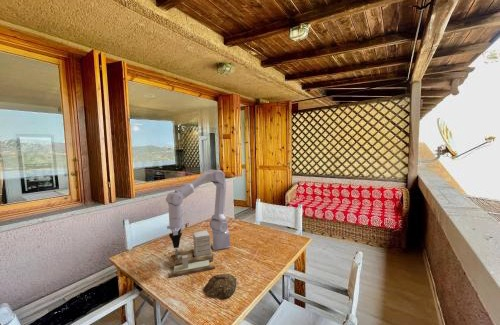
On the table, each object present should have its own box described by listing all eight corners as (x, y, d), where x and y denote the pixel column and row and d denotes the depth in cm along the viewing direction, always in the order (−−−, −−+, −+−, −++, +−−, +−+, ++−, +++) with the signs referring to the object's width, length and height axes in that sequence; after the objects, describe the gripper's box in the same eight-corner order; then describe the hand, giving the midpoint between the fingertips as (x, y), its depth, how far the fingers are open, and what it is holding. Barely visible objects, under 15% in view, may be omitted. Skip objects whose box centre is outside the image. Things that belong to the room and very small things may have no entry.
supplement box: (193, 255, 114) (192, 232, 113) (207, 252, 117) (206, 229, 116) (196, 262, 107) (195, 237, 107) (211, 258, 110) (210, 234, 110)
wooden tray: (210, 250, 119) (210, 242, 118) (213, 259, 109) (213, 249, 109) (175, 256, 113) (175, 247, 113) (175, 266, 104) (175, 256, 103)
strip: (208, 262, 107) (208, 250, 106) (210, 267, 102) (209, 254, 101) (174, 268, 102) (173, 255, 101) (174, 274, 97) (173, 261, 97)
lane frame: (209, 250, 120) (209, 248, 119) (214, 268, 101) (214, 266, 101) (170, 256, 113) (170, 254, 113) (169, 277, 95) (169, 275, 95)
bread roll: (239, 280, 92) (239, 269, 92) (232, 300, 80) (231, 287, 80) (210, 278, 94) (210, 267, 94) (199, 297, 82) (198, 285, 82)
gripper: (167, 213, 111) (168, 239, 112) (165, 222, 97) (166, 252, 98) (182, 212, 113) (183, 237, 114) (181, 220, 99) (183, 249, 100)
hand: (176, 244), depth 106 cm, fingers open, 7 cm apart
